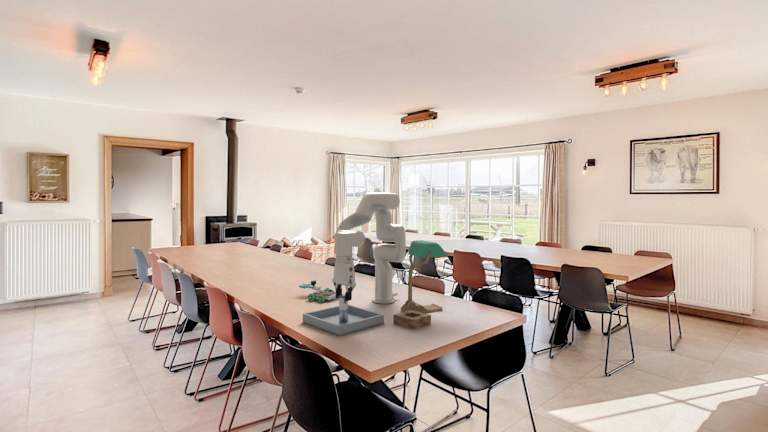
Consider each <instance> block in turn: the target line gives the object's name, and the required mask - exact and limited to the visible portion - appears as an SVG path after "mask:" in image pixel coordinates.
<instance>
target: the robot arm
mask: <svg viewBox="0 0 768 432" xmlns="http://www.w3.org/2000/svg"><path fill="white" fill-rule="evenodd" d="M399 206H400V196H399V195H398V193H395V192H384V191H383V192H381V191H379V192H377V191H376V192H375V191H371V192H370V191H369V192H366V193H365V194H363V196H362V198H361V200H360V201H359V204H358V206H357V208H356V210H355V212H354V213H352V214H349V216H347V217H345V218H344V219H343V220H342V221H341V222H340V223H339V225H338V227H337V229H336V230H335V232H334V233H335V234H334V238H333V239H334V240H333V241H334V242H335V262H334V269H333V277H332V279H331V281H332V283H333V286H334V290H335V289H336V296H335V297H336V298H335V299H339V295H341V294H343V288H342V289H341V287H342V286H345V287H344V288H345V293H344V294H345V300H346V301H348V302H349V301H352V300H353V299H352V297H353V296H352V293H353V291H354V289H355V288H356V286H357V283H356V276H355V275H356V274H355V272H356V271H355V264H354V262H353V247H354V248H359V247H362V246H363V244H365V241H366V236H365V234H364V233H363V231H360V230H353V229H354V228H358V227H361V226H364V225H366V224H368V223H370V222H371V220H372V218H373V216H374V215H375V235H376V239H377V241H380V242H386V243H379V244H376V245H375V246H374V248H373V258H374V277H375V279H374V297H372V298H371V301H372V302H373V303H375V304H383V305H385V304H387V305H389V304H392V303H395V302H396V299H395V298H394V297H396V296H397V297H398V295H399V293H398V291H396V292H393V275H394V274H393V266H392V264H391V263H402V262H404V261H405V259H406V253H407V252H406V250H407V249H406V246H407V245H406V241H407V240H406V230H405V227H404V226H403V225H401V224H397V223H395V224H393V219H392V218H393V217H392V213H391V211H390V210H397V208H398V207H399ZM387 242H388V243H387ZM392 242H393V243H394V244H393V243H392ZM390 262H391V263H390Z"/></svg>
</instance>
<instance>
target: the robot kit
mask: <svg viewBox="0 0 768 432" xmlns="http://www.w3.org/2000/svg"><path fill="white" fill-rule="evenodd" d="M298 288H301V289H311V290H312V291H314V292H313V293H311V292H310V293H309V294H308V295H307V299H308V301H309V302H314V301H315V300H317V301H318V302H319V303H320V304H321V303H324V302H325V301H326V300H327V301H330V300H333V299H337V298H336V289H335V288H334V289H333V288H330V287H326V288H324V289H322V287H321V286H319V285H318V286H317V280H316V279H313V280H312V279H311V281H310V284H309V283H302V285H298ZM341 289H342V290H343V287H342V286H341Z"/></svg>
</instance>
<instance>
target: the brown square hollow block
mask: <svg viewBox="0 0 768 432" xmlns="http://www.w3.org/2000/svg"><path fill="white" fill-rule="evenodd" d="M392 319H393V322H392V323H393V324H394V325H397V326H401V327H403V328H404V327H405V328H408V329H411V330H416V329H420V328H423V327H425V326H428V325H431V324H432V314H428V313H421V312H417V311H413V310H409V311H405V312H402V311H401V312H398V313H396V314H393V318H392Z"/></svg>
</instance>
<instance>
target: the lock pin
mask: <svg viewBox="0 0 768 432" xmlns="http://www.w3.org/2000/svg"><path fill="white" fill-rule="evenodd" d="M348 304H349V301H346V300H345V293H342V294H341V295H339V298H338V306H339V322H340V323H346V322H348Z"/></svg>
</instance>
